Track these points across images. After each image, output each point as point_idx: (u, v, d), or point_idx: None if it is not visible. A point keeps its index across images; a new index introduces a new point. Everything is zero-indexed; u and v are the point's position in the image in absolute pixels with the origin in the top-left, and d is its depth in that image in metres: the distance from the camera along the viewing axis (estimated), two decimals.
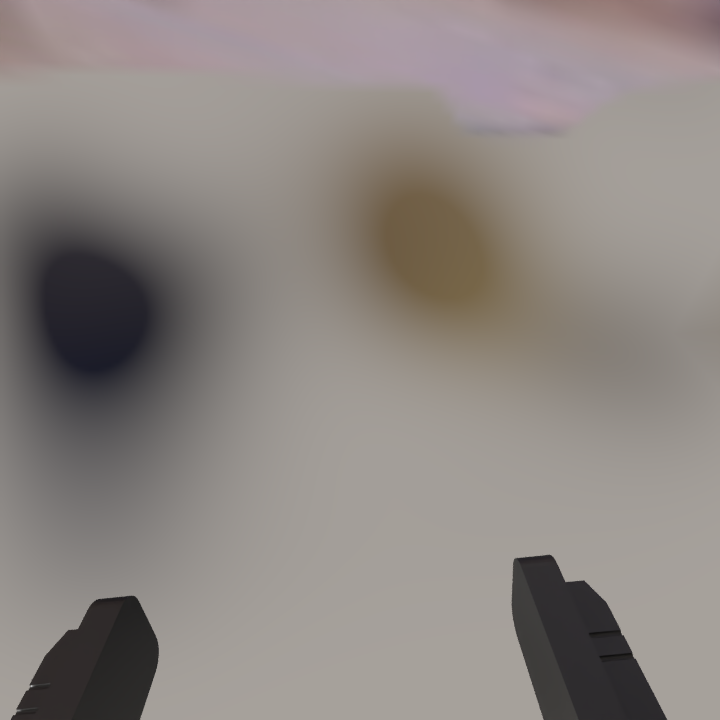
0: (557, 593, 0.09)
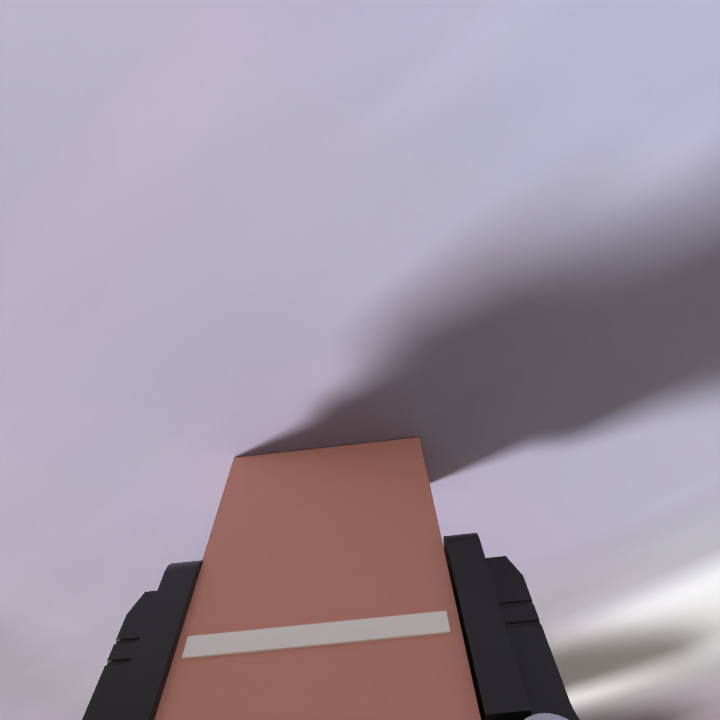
0: (475, 566, 0.10)
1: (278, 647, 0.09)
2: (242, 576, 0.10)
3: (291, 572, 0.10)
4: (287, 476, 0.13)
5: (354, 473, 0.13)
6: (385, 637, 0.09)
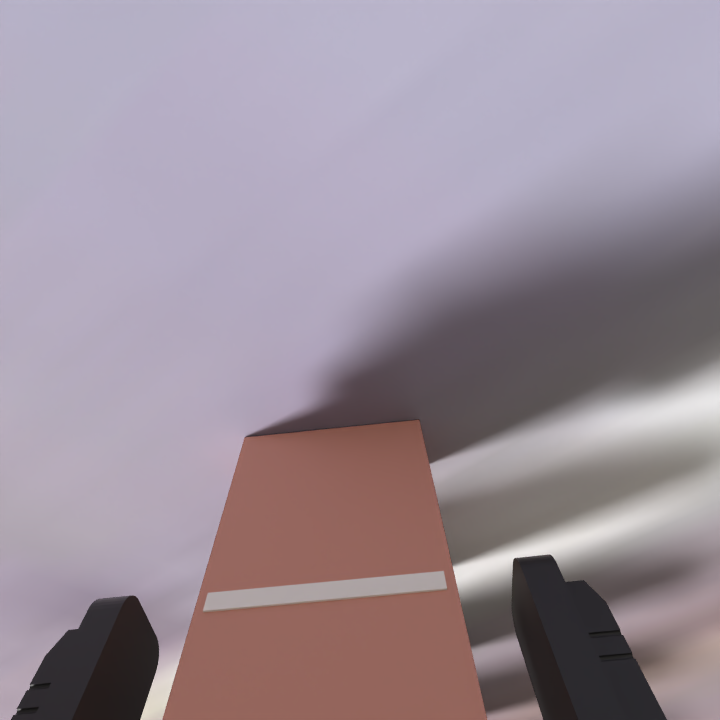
0: (557, 593, 0.09)
1: (291, 602, 0.10)
2: (255, 541, 0.11)
3: (301, 538, 0.11)
4: (295, 454, 0.14)
5: (358, 451, 0.14)
6: (389, 593, 0.10)
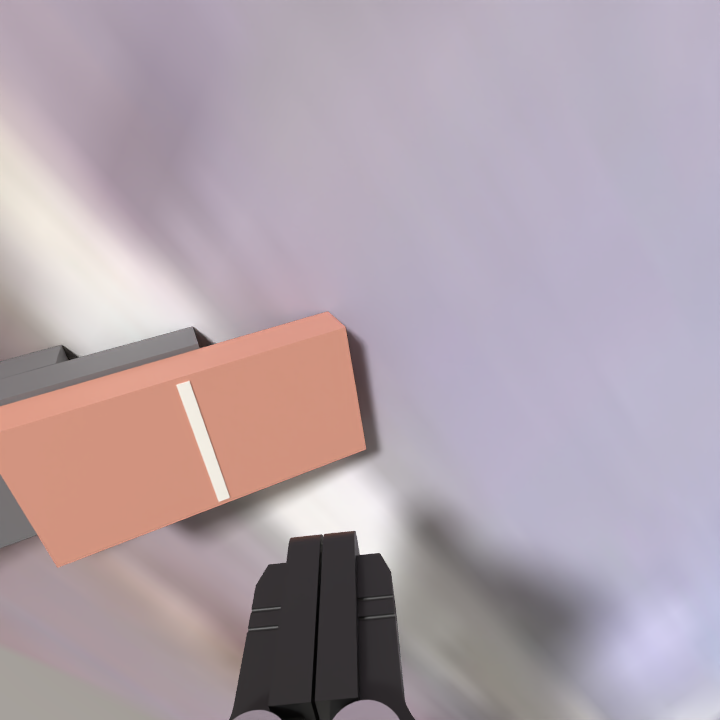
0: (343, 562, 0.10)
1: (193, 430, 0.16)
2: (235, 389, 0.16)
3: (242, 415, 0.17)
4: (325, 377, 0.17)
5: (329, 420, 0.18)
6: (210, 475, 0.17)
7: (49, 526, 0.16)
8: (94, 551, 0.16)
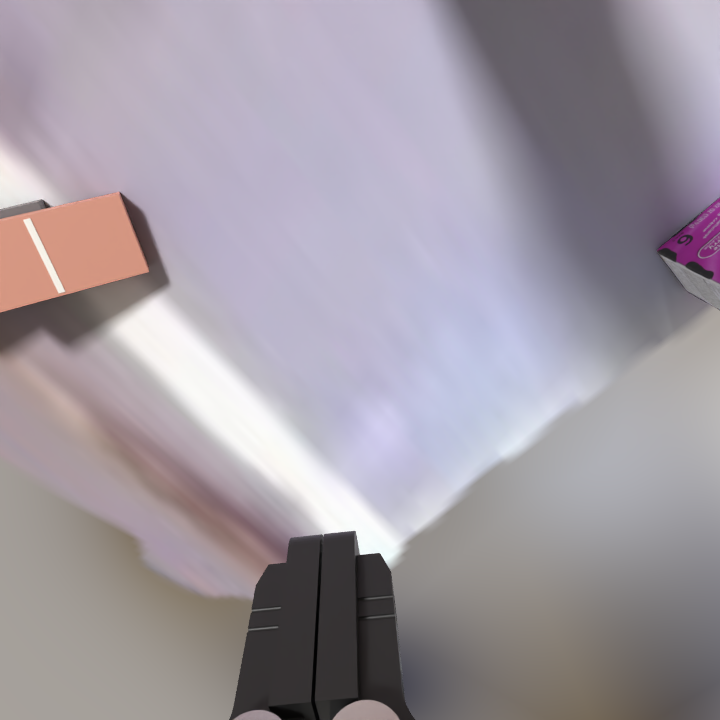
0: (343, 562, 0.10)
1: (37, 247, 0.31)
2: (57, 225, 0.31)
3: (64, 241, 0.32)
4: (112, 223, 0.32)
5: (120, 250, 0.33)
6: (51, 276, 0.32)
7: None
8: None
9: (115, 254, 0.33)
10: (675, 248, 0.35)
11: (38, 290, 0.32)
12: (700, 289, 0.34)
